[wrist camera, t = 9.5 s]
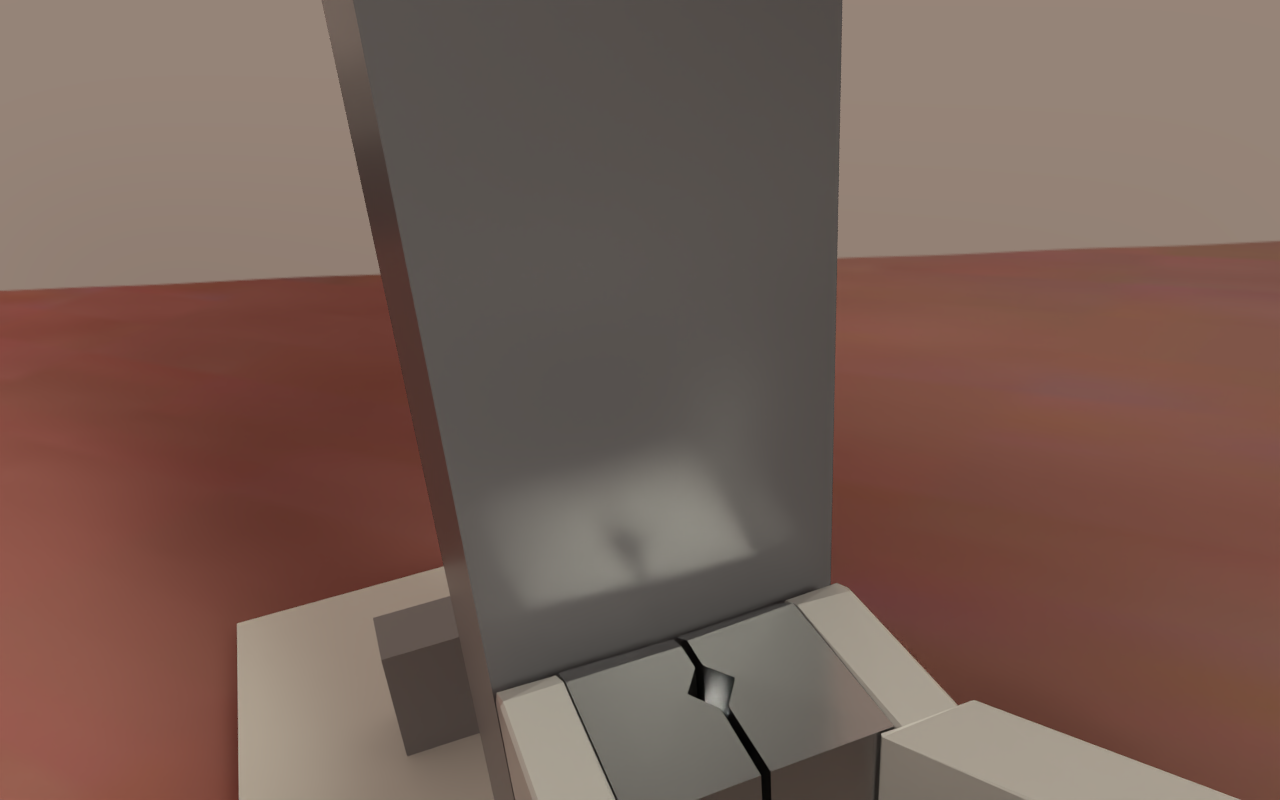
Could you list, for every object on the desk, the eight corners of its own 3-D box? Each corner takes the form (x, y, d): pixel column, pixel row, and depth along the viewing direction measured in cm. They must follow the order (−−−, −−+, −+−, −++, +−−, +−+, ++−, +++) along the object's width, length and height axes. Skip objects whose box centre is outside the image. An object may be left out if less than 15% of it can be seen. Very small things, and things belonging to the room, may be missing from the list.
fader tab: (889, 989, 11) (1027, -827, 5) (517, 1152, 10) (-43, -951, 3) (752, 758, 14) (711, -547, 8) (451, 866, 13) (83, -562, 6)
